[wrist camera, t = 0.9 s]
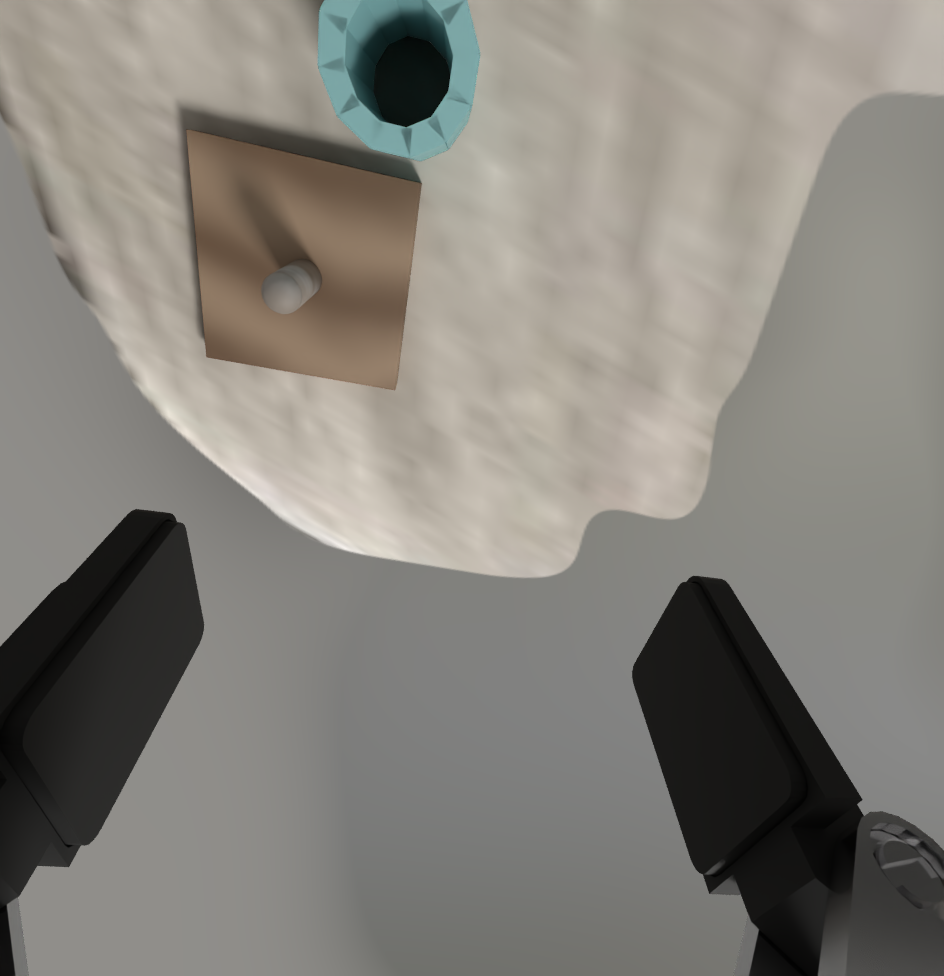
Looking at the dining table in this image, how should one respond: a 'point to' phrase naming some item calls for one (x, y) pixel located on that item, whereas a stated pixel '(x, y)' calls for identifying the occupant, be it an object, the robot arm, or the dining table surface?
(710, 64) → the dining table surface
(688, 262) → the dining table surface
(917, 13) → the dining table surface
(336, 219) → the pin board
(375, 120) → the sleeve
